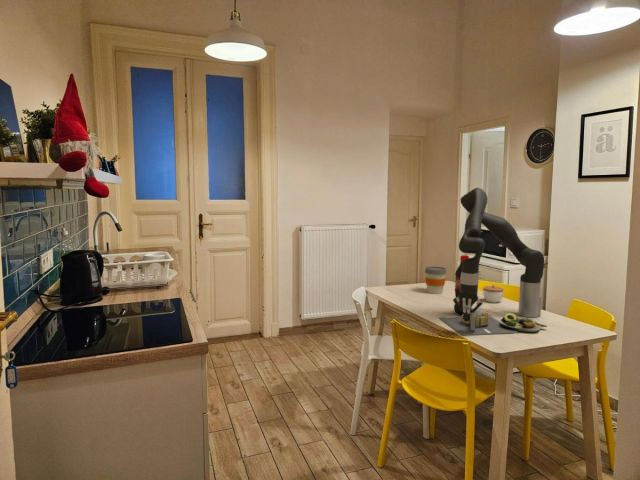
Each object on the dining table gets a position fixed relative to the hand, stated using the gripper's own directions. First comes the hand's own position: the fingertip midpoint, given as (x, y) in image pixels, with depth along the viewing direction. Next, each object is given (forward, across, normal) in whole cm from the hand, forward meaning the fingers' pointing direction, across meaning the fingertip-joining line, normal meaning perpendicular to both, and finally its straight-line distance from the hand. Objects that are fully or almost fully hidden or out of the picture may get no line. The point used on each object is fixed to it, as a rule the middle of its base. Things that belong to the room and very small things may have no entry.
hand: (466, 320), depth 196 cm
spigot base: (+5, +2, +11) cm, 13 cm away
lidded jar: (+4, 0, +62) cm, 62 cm away
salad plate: (+4, +19, +19) cm, 27 cm away
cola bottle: (+5, -8, +28) cm, 29 cm away
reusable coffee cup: (+5, -34, +67) cm, 75 cm away
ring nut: (+3, +2, +8) cm, 9 cm away
